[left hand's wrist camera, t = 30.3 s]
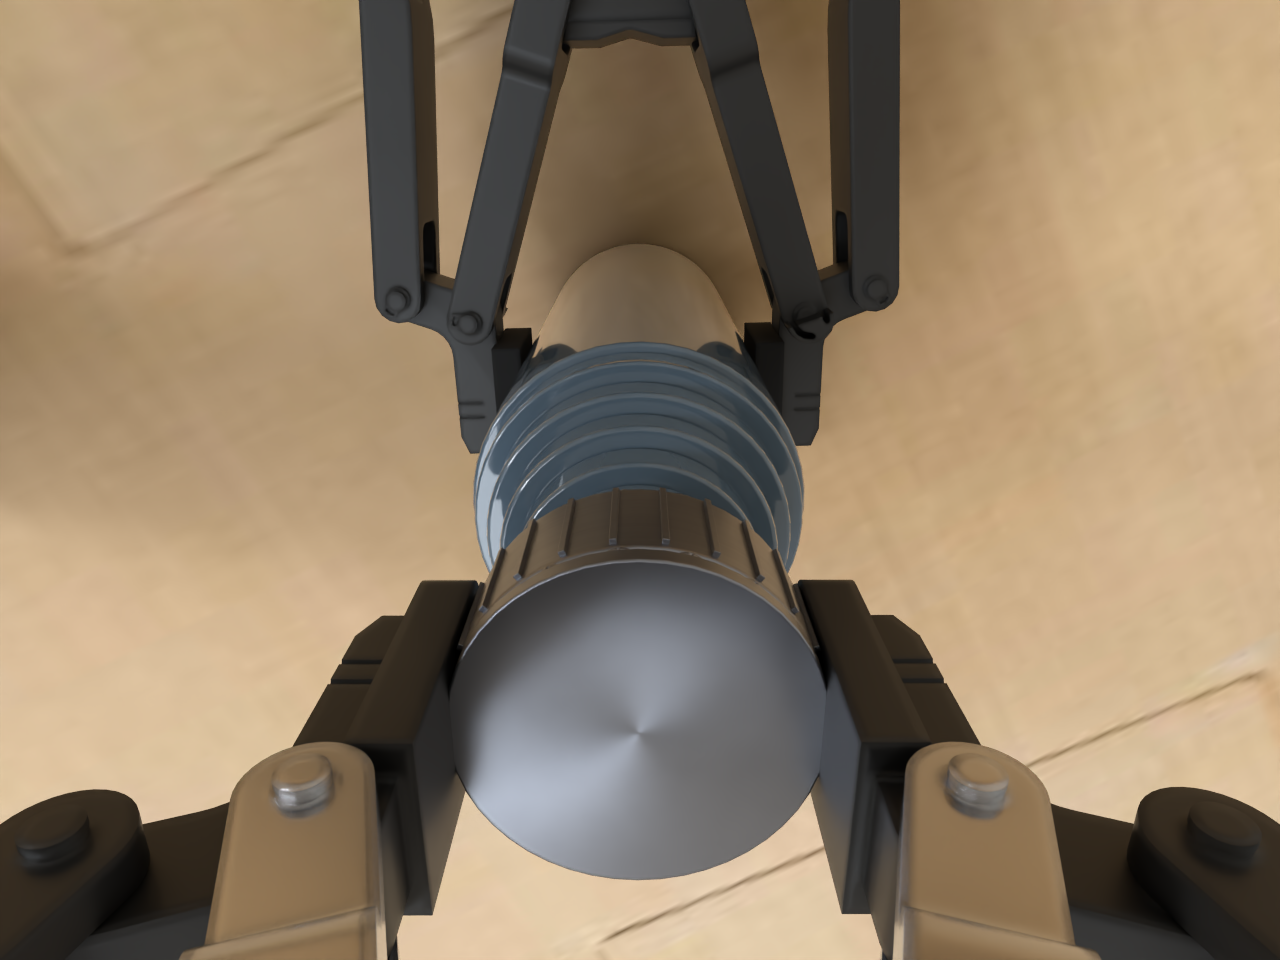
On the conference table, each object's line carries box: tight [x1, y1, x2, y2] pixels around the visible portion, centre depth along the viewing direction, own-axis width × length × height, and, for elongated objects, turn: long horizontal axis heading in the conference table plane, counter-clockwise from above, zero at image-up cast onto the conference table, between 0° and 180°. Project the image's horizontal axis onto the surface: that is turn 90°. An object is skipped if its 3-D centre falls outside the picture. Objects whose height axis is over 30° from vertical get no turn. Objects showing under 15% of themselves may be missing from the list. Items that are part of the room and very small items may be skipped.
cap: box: [449, 487, 827, 880], centre depth 11 cm, size 5×5×2 cm
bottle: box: [473, 244, 804, 574], centre depth 21 cm, size 6×6×22 cm
